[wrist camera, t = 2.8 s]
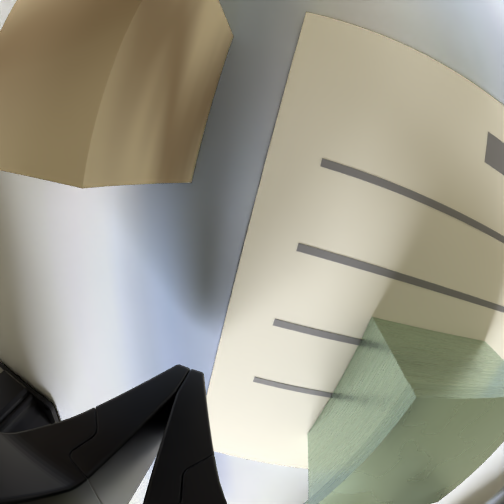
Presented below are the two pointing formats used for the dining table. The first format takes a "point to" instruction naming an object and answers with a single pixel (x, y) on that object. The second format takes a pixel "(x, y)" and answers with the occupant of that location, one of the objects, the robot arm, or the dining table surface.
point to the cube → (108, 88)
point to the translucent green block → (407, 418)
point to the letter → (357, 231)
